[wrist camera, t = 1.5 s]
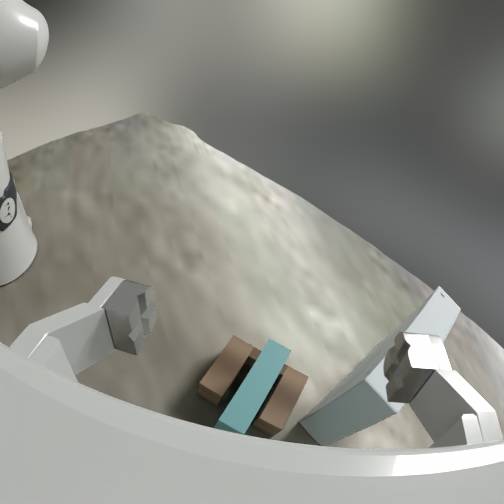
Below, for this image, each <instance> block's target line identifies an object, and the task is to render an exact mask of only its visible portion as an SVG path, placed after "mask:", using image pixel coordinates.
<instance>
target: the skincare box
mask: <svg viewBox="0 0 504 504" xmlns="http://www.w3.org/2000/svg"><path fill="white" fill-rule="evenodd" d="M460 310H461V309H460V307H459V306H458V305H457V304H456V303H455V302H454V301H453V300H452V299H451V298H450V297H449V296H448V295H447V294H446V292H444V290H442V288H441V287H440V286H439V287H438V288H437V289H436V290H435V291H434V292H433V293H432V294H431V295H430V296H429V297H428V298H427V299H426V300H425V301H424V302H423V303H422V304H421V305H420V306H419V307H418V308H417V309H416V310H415V311H414V312H413V313H412V314H411V315H410V316H409V317H408V318H406V319H405V320H404V321H403V322H402V323H401V324H400V325H399V326H398V327H397V328H396V329H395V330H394V331H393V332H392V333H390V334H389V335H388V336H387V337H386V338H385V339H384V340H383V341H381V342H380V343H379V344H378V345H377V346H376V348H375V349H374V350H373V351H372V352H371V353H370V354H369V355H368V356H367V357H366V358H365V359H364V360H363V361H362V362H361V363H360V364H359V365H358V366H357V367H356V368H355V369H354V370H353V371H352V372H351V373H350V374H349V375H348V376H347V377H346V378H345V379H344V380H343V381H342V382H341V383H340V384H339V385H338V386H337V387H336V388H335V389H334V390H333V391H332V392H331V393H330V394H329V395H328V396H327V397H326V398H324V399H323V400H322V401H321V402H320V403H319V404H318V405H317V406H316V407H315V408H313V409H312V410H311V411H310V412H309V413H308V414H307V415H306V416H304V417H303V418H302V419H301V420H300V421H299V422H300V424H301V425H302V426H303V427H304V428H305V430H306V431H307V432H308V433H309V434H310V435H311V436H312V437H313V438H314V439H315V440H316V441H317V442H318V443H319V444H320V445H321V446H325V445H327V444H330V443H332V442H335V441H337V440H340V439H342V438H344V437H347V436H349V435H351V434H354V433H356V432H358V431H361V430H363V429H365V428H367V427H370V426H372V425H374V424H376V423H378V422H380V421H382V420H384V419H386V418H388V417H390V416H392V415H394V414H397V413H398V412H399V410H400V409H401V408H402V406H403V405H404V403H396V402H388V401H387V393H386V385H387V383H388V382H389V381H388V380H387V378H386V377H385V376H384V371H383V365H384V360H385V356H386V354H387V352H388V350H389V349H390V348H392V347H393V346H395V342H394V339H395V337H396V335H397V334H398V333H399V332H409V333H418V334H430V335H438V336H439V337H440V338H441V340H442V343H443V342H444V340H445V339H446V337H447V335H448V333H449V331H450V329H451V328H452V326H453V324H454V322H455V320H456V318H457V316H458V314H459V312H460Z"/></svg>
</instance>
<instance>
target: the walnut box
mask: <svg viewBox="0 0 504 504" xmlns="http://www.w3.org/2000/svg"><path fill="white" fill-rule="evenodd" d="M261 352H262V351H260V350H258V349H257V348H255V347H253V346H251V345H250V344H248V343H246V342H244V341H243V340H241V339H239V338H238V337H236V336H234V335H233V337H232V338H231V339H230V341H229V342H228V344H227V345H226V346H225V348H224V349H223V351H222V352H221V354H220V355H219V356H218V358H217V359H216V360H215V362H214V363H213V365H212V366H211V367H210V369H209V370H208V372H207V373H206V374H205V376H204V377H203V379H202V380H201V381H200V383H199V386H198V390H197V394H198V395H200V396H201V397H203V398H205V399H206V400H208V401H209V402H211V403H213V404H214V405H216V406H218V404H219V403H220V401H221V400H222V398H223V397H224V395H225V394H226V392H227V391H228V389H229V388H230V386H231V385H232V383H233V382H234V380H235V378H236V377H237V375H238V374H239V372H240V371H241V369H244V370H245V371H247V372H249V371H250V370H251V368H252V367H253V365H254V363H255V362H256V360H257V358H258V357H259V355H260V354H261ZM307 379H308V376H306V375H304V374H302V373H300V372H298V371H296V370H294V369H293V368H291V367H289V366H287V365H285V364H284V365H283V367H282V369H281V371H280V373H279V375H278V376H277V378H276V380H275V382H274V384H273V385H272V386H274V387H273V389H272V391H271V392H270V394H269V396H268V398H267V399H266V401H265V403H264V405H263V407H262V408H261V410H260V412H259V413H258V415H257V417H256V419H255V420H254V422H253V424H252V425H251V426H253V427H255V428H257V429H259V430H261V431H262V432H264V433H266V434H268V435H270V436H272V437H273V436H274V435H276V434H277V433H278V432H280V431H281V430H283V428H284V426H285V424H286V422H287V420H288V418H289V416H290V414H291V412H292V410H293V408H294V406H295V404H296V402H297V400H298V398H299V396H300V394H301V392H302V390H303V388H304V386H305V383H306V381H307Z"/></svg>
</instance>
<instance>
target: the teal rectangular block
mask: <svg viewBox="0 0 504 504" xmlns="http://www.w3.org/2000/svg"><path fill="white" fill-rule="evenodd" d="M290 352H291V350H289V349H288V348H286V347H284V346H282V345H280V344H278V343H277V342H275V341H273V340H271V339H269V340H268V342H267V344H266V345H265V347H264V349H263V350H262V352H261V354H260V355H259V357H258V358H257V360H256V362H255V363H254V365H253V367H252V368H251V370H250V371H249V373H248V375H247V376H246V378H245V379H244V381H243V383H242V384H241V386H240V387H239V389H238V390H237V392H236V394H235V395H234V397H233V398H232V400H231V401H230V403H229V404H228V406H227V408H226V409H225V411H224V412H223V414H222V415H221V417H220V418H219V420H218V421H217V423H216V425H215V426H214V428H215V429H219V430H224V431H228V432H233V433H238V434H243V435H244V434H245V432H246V430H247V429H248V427H249V425H250V424H251V422H252V420H253V419H254V417H255V415H256V414H257V412H258V410H259V408H260V407H261V405H262V403H263V401H264V400H265V398H266V396H267V394H268V393H269V391H270V389H271V387H272V385H273V384H274V382H275V380H276V378H277V376H278V375H279V373H280V371H281V369H282V367H283V365H284V364H285V362H286V360H287V358H288V356H289V354H290Z"/></svg>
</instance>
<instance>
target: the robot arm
mask: <svg viewBox="0 0 504 504" xmlns="http://www.w3.org/2000/svg"><path fill="white" fill-rule="evenodd" d="M48 41H49V31H48V26H47V22H46V20H45V18H44V17H43V15H42V14H41V13H40V12H39V11H38V10H37V9H35V8H33V7H31V6H29V5H28V4H26V3H25V2H24V1H23V0H0V88H4V87H6V86H8V85H10V84H12V83H14V82H16V81H18V80H20V79H22V78H24V77H26V76H28V75H30V74H32V73H34V72H35V70H36V69H37V68H38V66H39V65H40V63H41V61H42V60H43V58H44V55H45V53H46V50H47V46H48ZM36 251H37V241H36V238H35V236H34V234H33V232H32V221H31V219H30V217H29V216H26V214H25V211H24V208H23V206H22V203H21V200H20V198H19V195H18V193H17V192H16V188H15V181H14V179H13V176H12V173H11V172H10V171H9V169H8V164H7V159H6V153H5V147H4V141H3V135H2V133H1V131H0V286H1V285H4V284H7V283H9V282H11V281H13V280H15V279H16V278H18V277H19V276H20V275H21V274H22V273H24V272H25V271H26V269H27V268H28V267H29V266H30V264H31V263H32V261H33V259H34V257H35V254H36ZM154 297H155V294H154V288H153V287H152V286H149V285H145V284H141V283H138V282H134V281H130V280H127V279H126V280H125V279H122V278H118V277H115V276H114V277H111V278H109V280H108V281H107V282H106V283H105V284H104V285H103V286H102V288H101V289H100V290H99V291H98V292H97V293H96V294H95V296H94V297H93V298H92V299H91V300H90V301H89V303H88V304H87V303H82V304H79V305H77V306H74V307H72V308H69V309H67V310H64V311H62V312H59V313H57V314H54V315H52V316H49V317H47V318H44V319H42V320H39V321H37V322H35V323H32V324H30V325H28V326H27V327H26V329H25V330H24V331H23V332H22V333H21V334H20V335H19V337H18V338H17V339H16V340H15V341H14V342H13V344H12V345H11V346H10V347H8V346H6V345H4V344H3V343H1V342H0V504H504V439H503V436H502V432H501V429H500V425H499V422H498V418H497V415H496V412H495V410H494V409H493V408H492V407H491V406H490V405H489V404H488V403H487V402H486V401H485V400H484V399H483V398H482V397H481V396H480V395H479V394H478V393H477V392H476V391H475V390H474V389H473V388H472V387H471V386H470V385H469V384H468V383H467V382H466V381H465V380H464V379H463V378H462V377H461V376H460V375H459V374H458V373H457V372H456V371H455V370H452V369H451V366H450V363H449V360H448V357H447V354H446V351H445V348H444V346H443V343H442V340H441V338H440V337H439V336H438V335H430V334H418V333H409V332H399V333H398V334H397V335H396V337H395V339H394V342H395V346H393V347H392V348H390V349H389V350H388V352H387V354H386V356H385V360H384V365H383V371H384V376H385V377H386V378H387V380H388V381H389V382H388V383H387V385H386V393H387V401H388V402H396V403H410V404H409V405H410V407H411V408H412V410H413V411H414V413H415V414H416V416H417V417H418V419H419V420H420V422H421V423H422V425H423V426H424V428H425V429H426V431H427V432H428V434H429V435H430V437H431V438H432V440H433V441H434V443H433V444H432V445H431V446H430V447H429V448H418V449H360V448H341V447H328V446H317V445H308V444H299V443H291V442H284V441H277V440H271V439H265V438H259V437H253V436H248V435H243V434H238V433H233V432H228V431H224V430H219V429H215V428H211V427H207V426H203V425H199V424H195V423H191V422H188V421H184V420H180V419H177V418H174V417H170V416H167V415H164V414H160V413H157V412H154V411H151V410H148V409H145V408H142V407H139V406H136V405H133V404H130V403H128V402H125V401H122V400H119V399H117V398H114V397H112V396H109V395H106V394H104V393H101V392H99V391H97V390H94V389H92V388H89V387H87V386H85V385H82V384H80V383H79V382H78V380H77V378H76V376H75V375H76V374H78V373H80V372H81V371H83V370H84V369H86V368H88V367H89V366H91V365H92V364H94V363H96V362H97V361H99V360H100V359H102V358H104V357H105V356H107V355H108V354H110V353H111V352H113V351H115V349H117V350H120V351H123V352H127V353H130V354H133V355H138V353H139V351H140V350H141V348H142V346H143V344H144V343H145V339H144V336H145V335H147V334H149V333H150V332H151V331H152V329H153V327H154V324H155V320H156V306H155V305H154V303H153V302H152V300H153V298H154Z"/></svg>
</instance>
